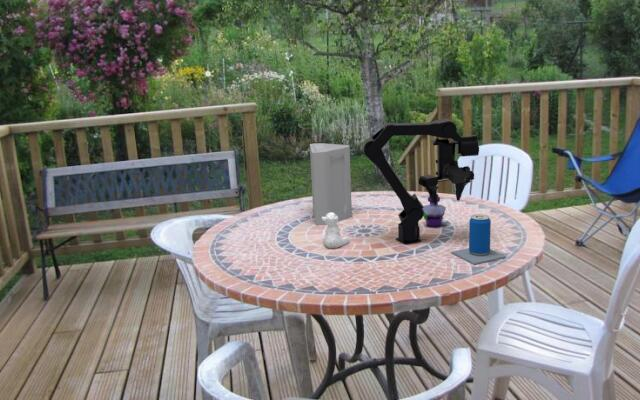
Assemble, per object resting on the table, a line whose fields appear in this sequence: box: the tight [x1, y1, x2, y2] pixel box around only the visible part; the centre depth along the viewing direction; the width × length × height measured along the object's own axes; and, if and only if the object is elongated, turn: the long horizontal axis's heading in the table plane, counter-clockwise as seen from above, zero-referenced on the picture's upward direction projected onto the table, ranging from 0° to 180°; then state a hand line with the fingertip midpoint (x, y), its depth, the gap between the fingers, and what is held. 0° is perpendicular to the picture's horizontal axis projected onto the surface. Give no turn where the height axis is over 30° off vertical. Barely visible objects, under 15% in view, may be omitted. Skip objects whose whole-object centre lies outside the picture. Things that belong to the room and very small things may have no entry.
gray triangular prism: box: [309, 142, 353, 226], centre depth 247 cm, size 19×15×28 cm
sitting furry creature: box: [322, 212, 351, 249], centre depth 217 cm, size 10×9×12 cm
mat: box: [450, 247, 507, 266], centre depth 202 cm, size 12×12×1 cm
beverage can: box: [468, 213, 492, 256], centre depth 201 cm, size 6×6×12 cm
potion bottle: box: [422, 193, 447, 229], centre depth 233 cm, size 9×9×12 cm
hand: (446, 202), depth 216 cm, fingers open, 9 cm apart
